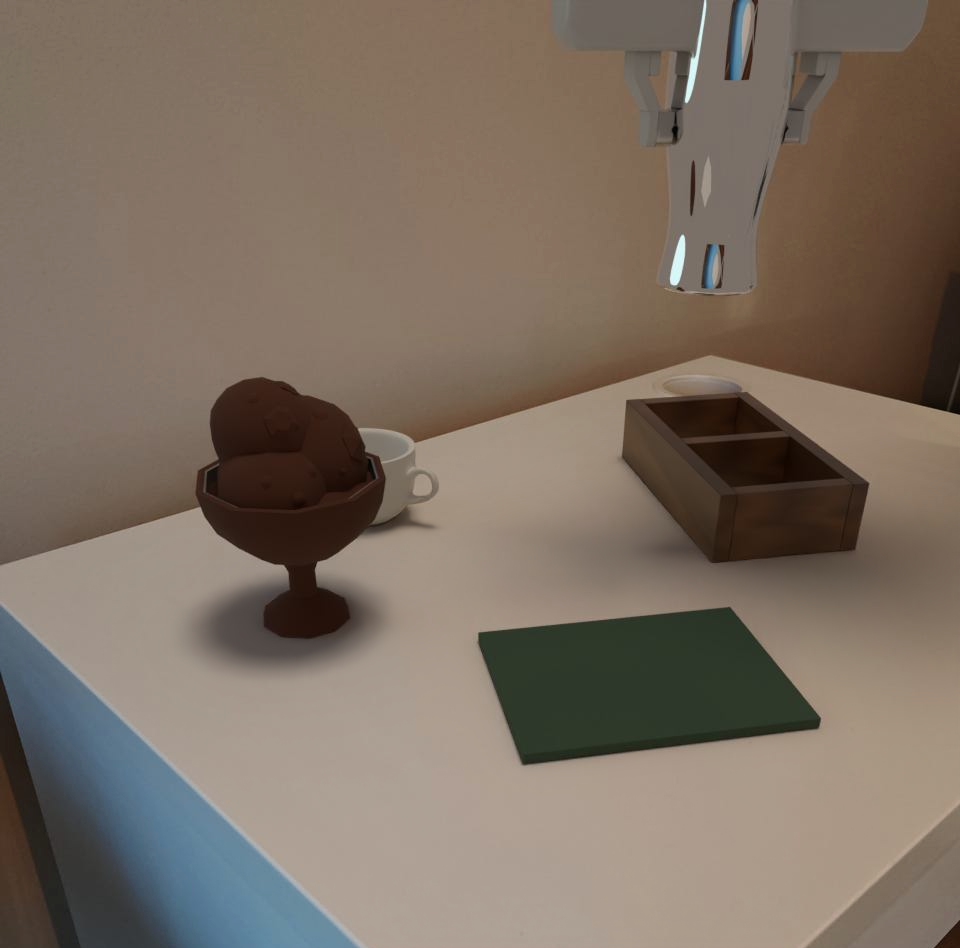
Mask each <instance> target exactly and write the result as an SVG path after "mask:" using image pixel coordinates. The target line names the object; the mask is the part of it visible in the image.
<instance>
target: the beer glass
mask: <svg viewBox="0 0 960 948" xmlns="http://www.w3.org/2000/svg"><path fill="white" fill-rule="evenodd" d="M800 5H801V0H704V7H703V13H702V19H701V25H700V30H699V35H698V38H697V41H696V44H695V47H694V48H693V49H692V50H691V51H669V54H668V64H667V72H666V82H665V98H664V110H667V111H673V112H675V120H674V126H673V127H672V129H671V131H672V133H673V140H672V143H671V145H670V146H668V147H665V154H666V155H665V156H666V157H665V158H666V170H667V183H668V185H667V186H668V222H667V232H666V237H665V243H664V246H663V251H662V255H661V258H660V262H659V265H658V270H657V273H656V281H655V282H656V284H657V285H658V287H660V288H661V289H664V290H666V291H669V292H673V293H678V294H684V295H691V296H700V297H701V296H702V297H727V296H730V297H731V296H740V295H745V294H748V293H751V292H753V291H755V290H756V289H757V287H758V258H757V257H758V256H757V243H758V242H757V241H758V232H759V231H758V230H759V223H760V219H761V214H762V209H763V205H764V202H765V198H766V195H767V191H768V188H769V184H770V181H771V178H772V175H773V172H774V168H775V166H776V162H777V158H778V155H779V152H780V148H781V146H782V145H781V142H782V139H783V135H784V131H785V127H786V123H787V119H788V115H789V111H790V109H791V108H790V105H791V103H792V101H793V95H794V94H793V93H794V87H795V80H796V73H797V64H798V54H799V52H798V36H799V18H800Z"/></svg>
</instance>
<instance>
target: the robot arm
mask: <svg viewBox="0 0 960 948" xmlns="http://www.w3.org/2000/svg"><path fill="white" fill-rule="evenodd" d="M551 5H552V7H551V19H550V21H551V32H552V34H553V35H554V37H555V39H556V41H557V42H558V44H559V45H560V46H561V48H562V49H563V50H565V51H569V52H624V56H623V57H624V58H623V59H624V60H623V72H622V73H623V74H622V76H623V78H624V80H625V83H626V85H627V87H628V89H629V92H630V95H631V96H632V99H633V101H634V103H635V106H636V108H637V110H639V118H638V119H639V120H638V132H637V142H638V145H639V146H641V147H644V148H663V147H664V148H666V147H668V146H670V145H671V143H672V140H673V133H672V131H671V129H672V127H673V126H674V120H675V112H673V111H667V110H665V109H662V107H661V105H660V103H659V100H658V98H657V95H656V92H655V89H654V87H653V84H652V82H651V79H650V77H657V76H659V75H660V72H661V61H662V52H670V51H691V50H692V49H693V48H694V47H695V44H696V41H697V38H698V35H699V30H700V25H701V19H702V13H703V7H704V0H552V4H551ZM928 6H929V0H801V5H800V18H799V36H798V53H799V52H800V59H799V66H798V74H800V75H806V77H805V79H804V80H803V82H802V84H801V85H800V87H799V89H798V90H797V93H796V94H795V96H794V98H792V100H791V105H790V111H789V115H788V119H787V123H786V127H785V131H784V135H783V139H782V142H781V145H780V146H805V145H806V144H807V143H808V140H809V136H810V131H811V130H810V129H811V125H812V120H813V119H812V118H813V111H816V110H817V108H818V107H819V105H820V104H821V102H822V101H823V99H824V97H825V96H826V95H827V93H828V92H829V90H830V89H831V87H832V86H833V85H834V83H835V81H836V80H837V78H838V77H839V71H840V66H841V61H842V54H843V53H847V52H848V53H849V52H850V53H860V52H861V53H878V52H879V53H883V52H884V53H901V52H904V51H905V50H906V49H907V48H908V47H909V46H910V45H911V44H912V42H913V41H914V40H915V38H916V37H917V36H918V34H919V33H920V32H921V30H922V28H923V25H924V23H925V18H926V15H927V11H928Z"/></svg>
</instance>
